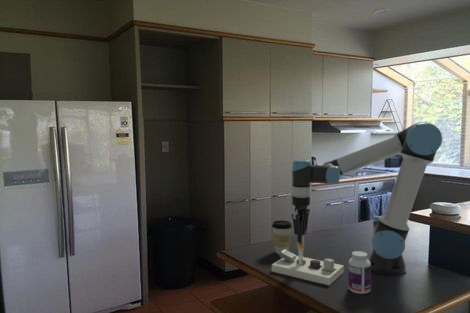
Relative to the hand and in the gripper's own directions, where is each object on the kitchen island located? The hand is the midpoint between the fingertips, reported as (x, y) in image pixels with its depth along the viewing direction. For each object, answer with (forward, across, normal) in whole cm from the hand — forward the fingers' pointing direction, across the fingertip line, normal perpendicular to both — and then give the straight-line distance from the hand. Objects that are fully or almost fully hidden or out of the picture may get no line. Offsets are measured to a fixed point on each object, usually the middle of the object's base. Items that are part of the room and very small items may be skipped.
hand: (300, 248), depth 166 cm
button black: (+8, +1, +8) cm, 11 cm away
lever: (+5, +1, +1) cm, 6 cm away
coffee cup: (+10, -14, -17) cm, 25 cm away
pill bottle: (+9, +7, +28) cm, 30 cm away
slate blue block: (+4, +1, -6) cm, 7 cm away
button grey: (+6, +1, +14) cm, 15 cm away
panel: (+9, +1, +4) cm, 10 cm away
